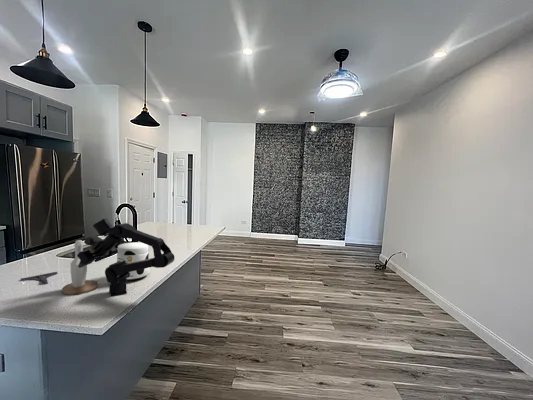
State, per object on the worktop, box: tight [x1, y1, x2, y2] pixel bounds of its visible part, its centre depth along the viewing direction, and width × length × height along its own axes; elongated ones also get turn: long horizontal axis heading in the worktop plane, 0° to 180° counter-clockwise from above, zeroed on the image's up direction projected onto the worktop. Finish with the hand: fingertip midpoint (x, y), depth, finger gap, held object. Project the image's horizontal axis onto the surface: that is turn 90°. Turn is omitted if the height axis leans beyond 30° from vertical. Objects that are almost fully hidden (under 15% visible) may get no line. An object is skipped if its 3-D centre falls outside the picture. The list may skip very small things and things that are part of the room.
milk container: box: [116, 241, 151, 281], centre depth 137 cm, size 17×17×18 cm
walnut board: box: [61, 279, 99, 296], centre depth 119 cm, size 14×14×2 cm
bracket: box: [20, 271, 58, 285], centre depth 127 cm, size 14×15×3 cm
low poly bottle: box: [70, 239, 88, 287], centre depth 119 cm, size 6×6×22 cm
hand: (87, 264), depth 118 cm, fingers open, 9 cm apart
